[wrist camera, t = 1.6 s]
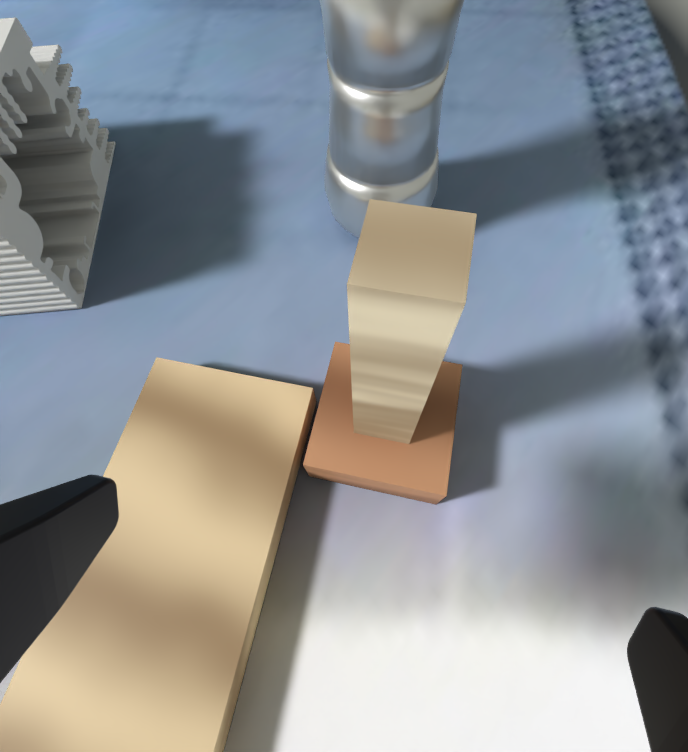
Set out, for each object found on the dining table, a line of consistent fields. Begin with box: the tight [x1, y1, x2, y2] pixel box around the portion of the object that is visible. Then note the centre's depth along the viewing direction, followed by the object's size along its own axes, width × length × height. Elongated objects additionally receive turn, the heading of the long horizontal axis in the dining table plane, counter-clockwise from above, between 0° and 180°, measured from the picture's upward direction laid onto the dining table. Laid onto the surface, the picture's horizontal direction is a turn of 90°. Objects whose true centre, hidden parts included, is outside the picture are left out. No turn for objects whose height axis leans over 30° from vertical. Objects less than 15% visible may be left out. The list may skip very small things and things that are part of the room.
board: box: [0, 358, 317, 752], centre depth 17 cm, size 22×8×2 cm, turn 168°
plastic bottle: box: [320, 0, 464, 238], centre depth 17 cm, size 6×7×20 cm
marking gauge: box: [303, 199, 477, 504], centre depth 15 cm, size 6×6×13 cm
